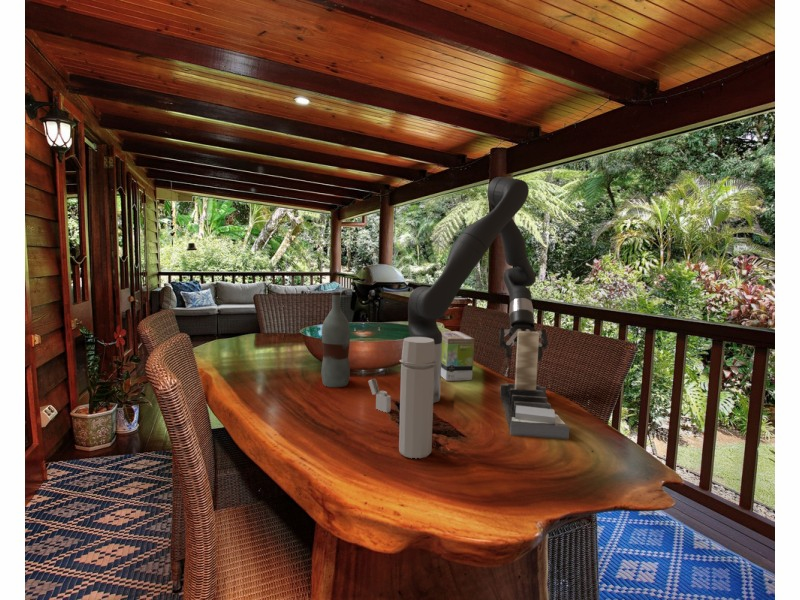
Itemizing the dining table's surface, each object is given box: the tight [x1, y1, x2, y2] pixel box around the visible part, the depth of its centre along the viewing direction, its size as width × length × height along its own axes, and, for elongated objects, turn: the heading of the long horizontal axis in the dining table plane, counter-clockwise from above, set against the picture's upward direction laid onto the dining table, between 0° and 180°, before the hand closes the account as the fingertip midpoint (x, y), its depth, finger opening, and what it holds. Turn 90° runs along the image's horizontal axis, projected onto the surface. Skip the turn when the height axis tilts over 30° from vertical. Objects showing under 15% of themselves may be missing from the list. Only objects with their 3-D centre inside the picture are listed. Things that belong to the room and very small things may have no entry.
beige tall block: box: [514, 331, 540, 390], centre depth 129 cm, size 6×3×20 cm, turn 82°
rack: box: [499, 382, 570, 440], centre depth 120 cm, size 13×31×6 cm, turn 172°
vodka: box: [320, 291, 351, 388], centre depth 146 cm, size 9×9×30 cm
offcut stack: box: [512, 405, 566, 425], centre depth 109 cm, size 11×7×4 cm, turn 82°
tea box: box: [441, 330, 475, 382], centre depth 161 cm, size 15×10×15 cm, turn 13°
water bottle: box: [398, 336, 437, 460], centre depth 98 cm, size 9×8×25 cm
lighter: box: [367, 378, 392, 414], centre depth 125 cm, size 7×2×8 cm, turn 51°
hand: (524, 358), depth 136 cm, fingers open, 8 cm apart
